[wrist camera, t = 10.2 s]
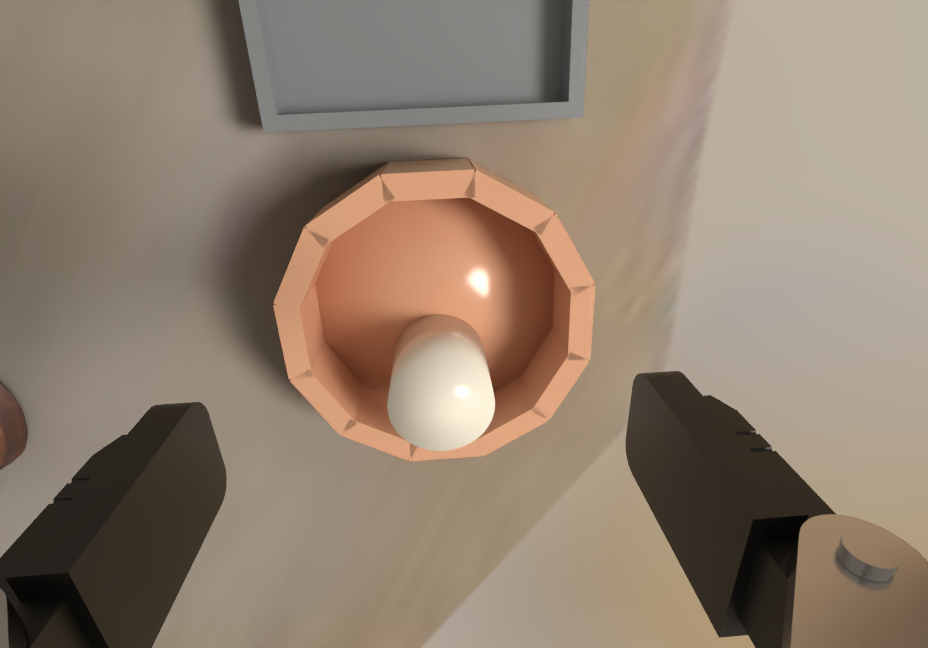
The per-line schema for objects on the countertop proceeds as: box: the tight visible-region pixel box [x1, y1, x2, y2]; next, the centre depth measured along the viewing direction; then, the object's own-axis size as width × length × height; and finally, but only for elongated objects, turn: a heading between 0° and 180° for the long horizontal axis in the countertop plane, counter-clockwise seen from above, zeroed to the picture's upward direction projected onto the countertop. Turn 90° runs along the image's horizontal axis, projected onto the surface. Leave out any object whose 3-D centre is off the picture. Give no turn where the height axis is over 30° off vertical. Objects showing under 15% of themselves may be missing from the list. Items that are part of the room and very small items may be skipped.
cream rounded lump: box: [387, 314, 495, 451], centre depth 23 cm, size 4×4×5 cm
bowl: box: [273, 158, 595, 461], centre depth 23 cm, size 13×13×4 cm
